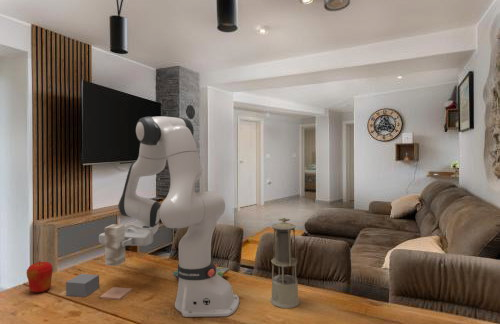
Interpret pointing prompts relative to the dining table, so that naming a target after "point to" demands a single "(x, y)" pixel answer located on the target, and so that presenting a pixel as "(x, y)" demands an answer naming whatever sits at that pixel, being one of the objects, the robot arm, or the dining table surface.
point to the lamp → (283, 284)
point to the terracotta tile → (116, 293)
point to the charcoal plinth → (82, 285)
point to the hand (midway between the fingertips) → (113, 244)
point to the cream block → (114, 245)
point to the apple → (39, 276)
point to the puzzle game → (219, 271)
